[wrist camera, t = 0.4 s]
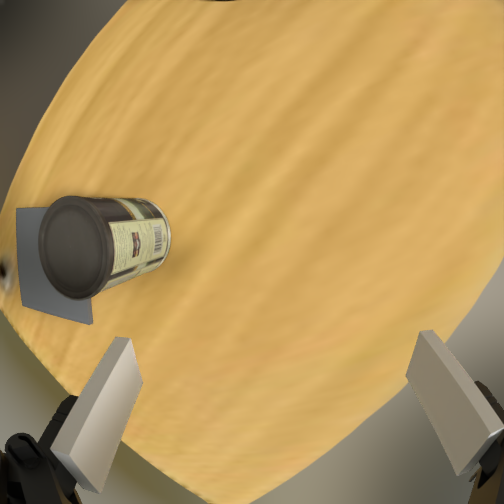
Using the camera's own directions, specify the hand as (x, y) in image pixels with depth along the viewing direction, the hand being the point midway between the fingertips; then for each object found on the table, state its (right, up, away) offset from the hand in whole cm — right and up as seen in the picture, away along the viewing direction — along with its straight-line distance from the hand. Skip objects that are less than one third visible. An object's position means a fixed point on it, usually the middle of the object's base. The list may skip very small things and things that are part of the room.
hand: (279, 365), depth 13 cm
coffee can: (-17, +7, +27) cm, 33 cm away
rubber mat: (-35, +3, +30) cm, 46 cm away
